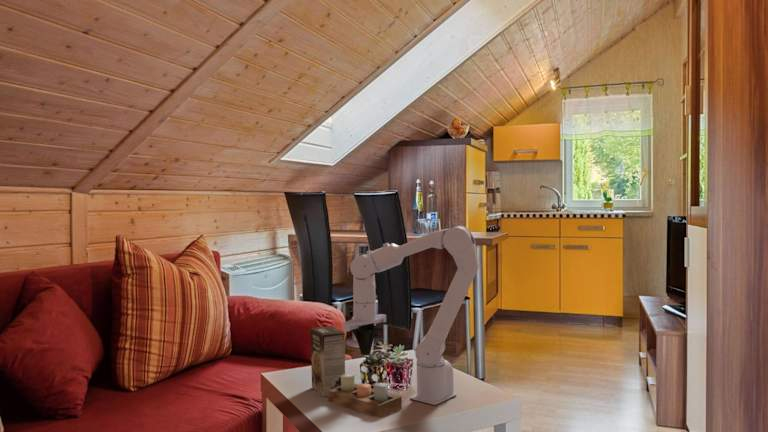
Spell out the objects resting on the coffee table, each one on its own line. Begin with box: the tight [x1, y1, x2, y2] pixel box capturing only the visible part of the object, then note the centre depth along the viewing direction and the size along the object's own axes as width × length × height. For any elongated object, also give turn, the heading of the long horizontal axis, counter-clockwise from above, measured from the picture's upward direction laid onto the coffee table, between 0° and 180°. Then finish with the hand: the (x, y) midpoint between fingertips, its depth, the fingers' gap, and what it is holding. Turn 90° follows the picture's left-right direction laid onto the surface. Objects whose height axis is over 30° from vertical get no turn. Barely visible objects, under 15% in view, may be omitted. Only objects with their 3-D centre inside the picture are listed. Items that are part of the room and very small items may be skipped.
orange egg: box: [357, 383, 372, 398], centre depth 144 cm, size 3×3×4 cm
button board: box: [327, 383, 403, 418], centre depth 144 cm, size 17×8×3 cm, turn 48°
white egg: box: [373, 382, 389, 403], centre depth 140 cm, size 3×3×4 cm
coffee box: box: [310, 325, 346, 398], centre depth 155 cm, size 9×6×16 cm
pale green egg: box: [341, 373, 356, 393], centre depth 147 cm, size 3×3×4 cm
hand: (365, 354), depth 151 cm, fingers closed
